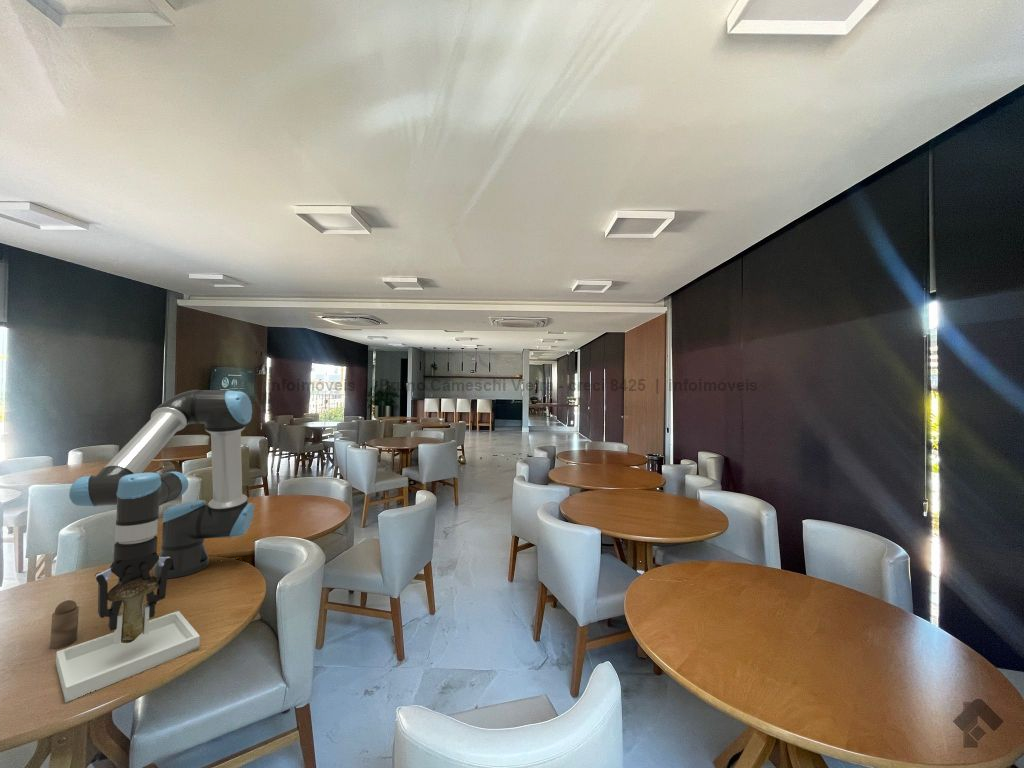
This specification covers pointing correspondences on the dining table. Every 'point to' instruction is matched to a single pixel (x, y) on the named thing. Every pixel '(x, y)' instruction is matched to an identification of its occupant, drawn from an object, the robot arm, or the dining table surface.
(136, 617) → the mushroom
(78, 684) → the tray
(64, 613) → the pepper mill
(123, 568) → the robot arm
